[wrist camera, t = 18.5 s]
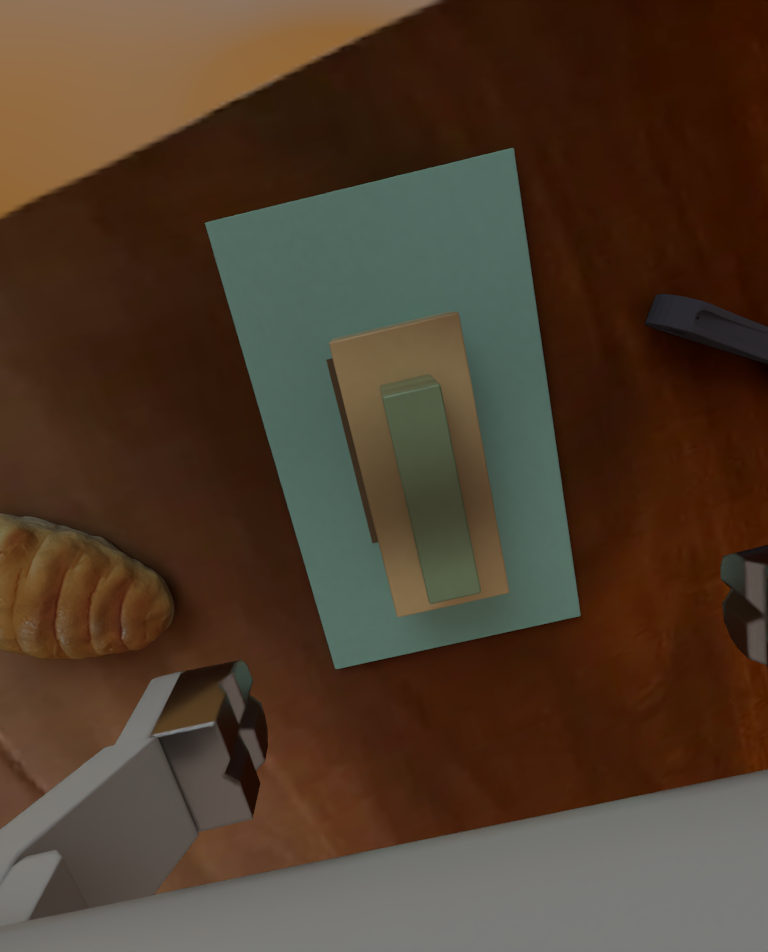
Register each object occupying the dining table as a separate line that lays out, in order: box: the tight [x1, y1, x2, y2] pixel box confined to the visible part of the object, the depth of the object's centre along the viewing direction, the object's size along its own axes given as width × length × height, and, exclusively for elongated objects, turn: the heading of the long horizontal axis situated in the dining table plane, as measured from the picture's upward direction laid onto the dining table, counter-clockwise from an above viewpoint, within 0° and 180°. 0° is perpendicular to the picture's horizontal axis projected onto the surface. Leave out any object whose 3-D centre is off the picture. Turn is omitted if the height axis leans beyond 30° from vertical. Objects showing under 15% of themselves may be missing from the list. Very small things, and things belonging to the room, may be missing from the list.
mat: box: [205, 148, 580, 669], centre depth 27 cm, size 22×13×1 cm, turn 13°
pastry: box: [0, 513, 174, 659], centre depth 27 cm, size 9×7×4 cm
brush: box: [329, 312, 509, 617], centre depth 23 cm, size 12×5×7 cm, turn 13°
